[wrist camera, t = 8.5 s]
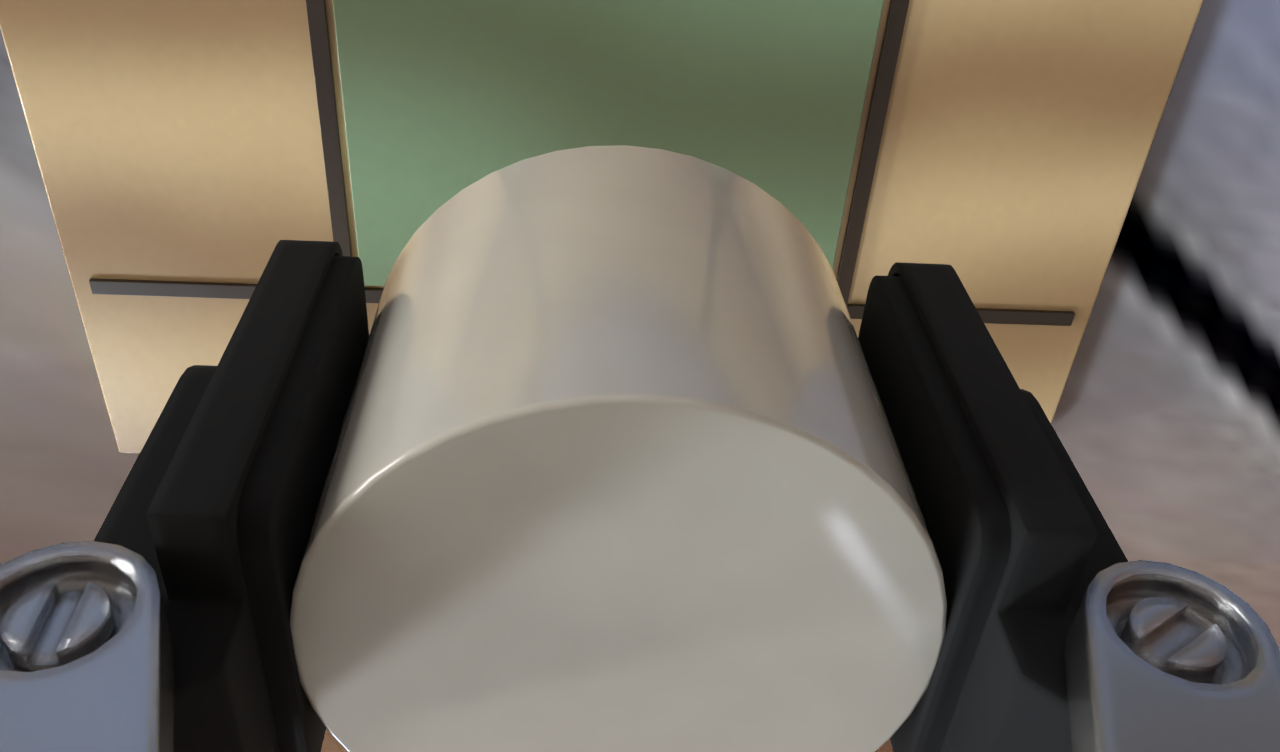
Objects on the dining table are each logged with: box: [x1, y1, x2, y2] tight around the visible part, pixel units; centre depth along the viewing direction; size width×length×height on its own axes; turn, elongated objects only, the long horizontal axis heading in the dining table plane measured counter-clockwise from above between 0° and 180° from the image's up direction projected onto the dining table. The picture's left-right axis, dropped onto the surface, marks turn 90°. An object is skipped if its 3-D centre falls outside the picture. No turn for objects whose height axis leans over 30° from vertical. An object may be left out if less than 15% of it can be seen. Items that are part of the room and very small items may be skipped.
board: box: [0, 0, 1204, 453], centre depth 19 cm, size 18×20×1 cm
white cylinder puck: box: [290, 145, 947, 752], centre depth 10 cm, size 5×5×4 cm
